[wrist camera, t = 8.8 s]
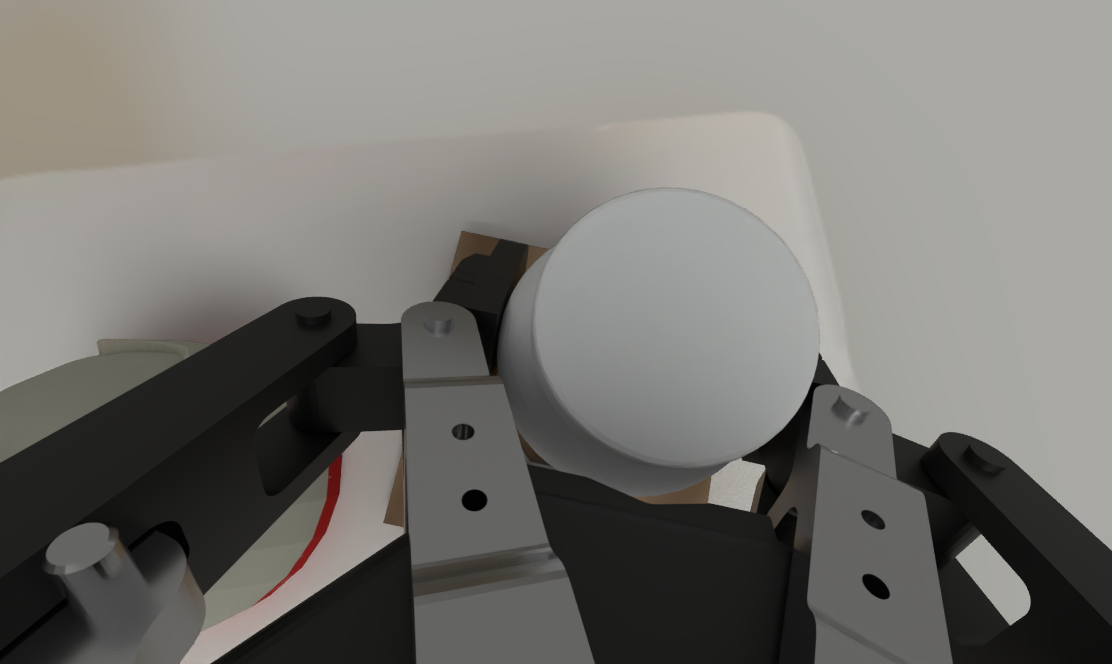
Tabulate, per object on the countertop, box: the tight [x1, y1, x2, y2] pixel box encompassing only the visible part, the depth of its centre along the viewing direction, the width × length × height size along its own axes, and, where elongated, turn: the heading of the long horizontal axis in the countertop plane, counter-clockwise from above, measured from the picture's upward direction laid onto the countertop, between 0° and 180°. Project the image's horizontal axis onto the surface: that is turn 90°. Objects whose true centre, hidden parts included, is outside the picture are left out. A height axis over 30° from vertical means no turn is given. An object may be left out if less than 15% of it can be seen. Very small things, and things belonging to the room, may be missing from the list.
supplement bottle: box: [497, 188, 820, 497], centre depth 11 cm, size 5×5×10 cm
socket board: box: [383, 231, 711, 527], centre depth 25 cm, size 16×16×4 cm
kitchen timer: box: [0, 339, 342, 632], centre depth 18 cm, size 14×14×15 cm
